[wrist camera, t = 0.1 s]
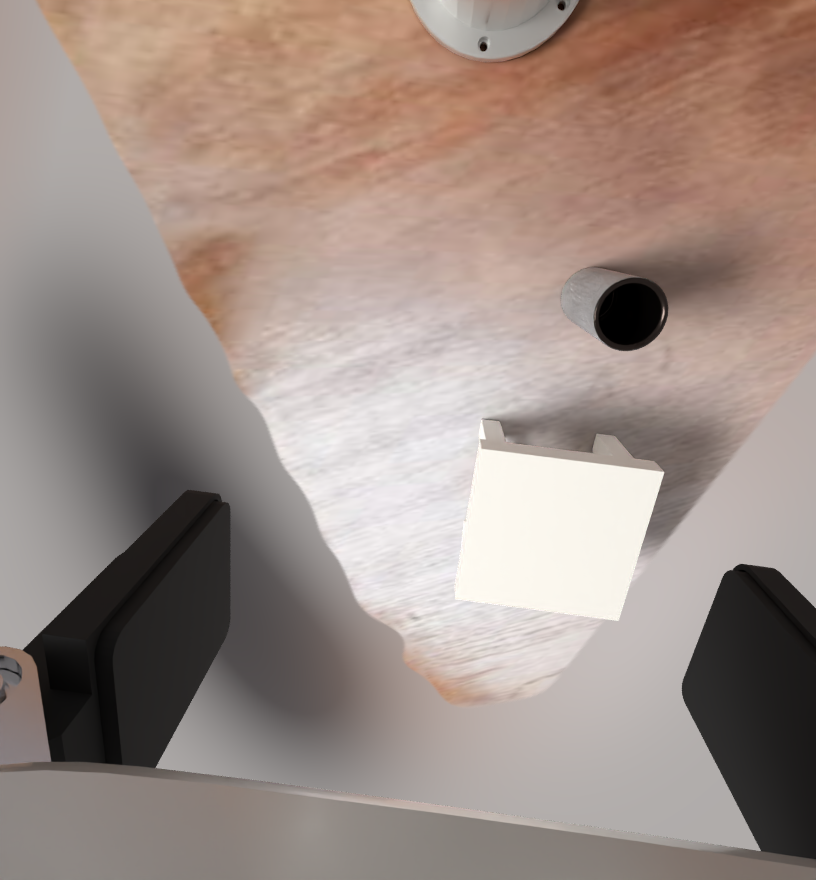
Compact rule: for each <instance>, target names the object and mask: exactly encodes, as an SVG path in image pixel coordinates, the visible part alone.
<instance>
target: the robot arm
mask: <svg viewBox="0 0 816 880" xmlns="http://www.w3.org/2000/svg"><path fill="white" fill-rule="evenodd" d="M410 2H411V4H412V7H413V9H414V12H415V13H416V15H417V17H418V18H419V20H420V21H421V23H422V24H423V26H424V28H425V29H426V30H427V31H428V32H429V33H430V34H431V35H432V37H433V38H434V39H435V40H436V41H437V42H438V43H440V44H441V45H442V46H444V47H445V48H447V49H448V50H449V51H451V52H452V53H454V54H457V55H459V56H462V57H464V58H466V59H469V60H475V61H481V62H503V61H507V60H510V59H514V58H517V57H521V56H523V55H525V54H527V53H529V52H531V51H532V50H534V49H536V48H538V47H539V46H540V45H542V44H543V43H544V42H546V41H547V40H548V39H549V38H551V37H552V36H553V35H554V34H555V33H556V32H557V31H558V29H559V28H560V27H561V26H562V25H563V24H564V23H565V22H566V21H567V19H568V18H569V16H570V14H571V13H572V11H573V10H574V8H575V7H576V5H577V3H578V2H579V0H410ZM558 4H563V5H564V10H563V11H561V10H559V9H558ZM482 44H485V45H486V46H487V50H486V51H481V50H480V46H481V45H482ZM229 624H230V506H229V504H228V503H226V502H222V500H221V497H220V495H219V494H216V493H208V492H201V491H194V490H187V491H186V492H184V493H183V494H182V495H181V496H180V497H179V498H178V499H177V500H176V501H175V502H174V503H173V504H172V505H171V506H170V507H169V508H168V509H167V510H166V511H165V512H164V513H163V514H162V515H161V516H160V517H159V518H158V519H157V520H156V521H155V522H154V523H153V524H152V525H151V526H150V527H149V528H148V529H147V530H146V531H145V532H144V533H143V534H142V535H141V536H140V537H139V538H138V539H137V540H136V541H135V542H134V543H133V544H132V545H131V546H130V547H129V548H128V549H127V550H126V551H125V552H124V553H122V554H121V555H119V556H118V557H117V558H115V559H114V560H113V561H112V562H111V564H109V565H108V566H107V568H105V569H104V570H103V571H102V572H101V573H100V574H99V575H98V576H97V577H96V578H95V579H94V580H93V581H92V582H91V583H90V584H89V585H88V586H87V587H86V588H85V589H84V590H83V591H82V592H81V593H80V594H79V595H78V596H77V597H76V598H75V599H74V600H73V601H72V602H71V603H70V604H69V605H68V606H67V607H66V608H65V609H64V610H63V611H62V612H61V613H60V614H59V615H58V616H57V617H56V618H55V619H54V620H53V621H52V622H51V623H50V624H49V625H48V626H46V628H44V629H43V630H42V631H41V632H40V633H39V634H38V635H37V636H36V637H35V638H34V639H33V640H32V641H31V642H30V643H29V644H28V645H27V646H26V647H25V648H24V649H23V650H20V649H15V648H10V647H6V646H5V647H0V880H816V608H815V607H814V606H813V605H812V604H811V603H810V602H809V601H808V600H807V599H806V598H805V597H804V596H803V595H802V594H801V593H800V592H799V591H798V590H797V589H796V588H795V587H794V586H793V585H792V584H791V583H790V582H789V581H788V580H787V579H786V578H785V577H784V576H783V575H782V574H781V573H780V572H779V571H777V570H776V569H774V568H768V567H760V566H753V565H746V564H740V565H737V566H736V567H735V568H734V569H733V570H730V571H727V572H726V573H725V574H724V576H723V578H722V580H721V583H720V586H719V588H718V591H717V593H716V596H715V598H714V601H713V604H712V606H711V609H710V611H709V614H708V617H707V619H706V622H705V624H704V627H703V630H702V632H701V635H700V637H699V640H698V643H697V645H696V648H695V650H694V653H693V656H692V658H691V661H690V664H689V666H688V669H687V671H686V674H685V676H684V679H683V683H682V695H683V699H684V702H685V704H686V706H687V708H688V710H689V712H690V714H691V716H692V718H693V720H694V721H695V723H696V725H697V727H698V729H699V731H700V733H701V735H702V737H703V739H704V741H705V743H706V745H707V747H708V749H709V751H710V753H711V754H712V756H713V758H714V760H715V762H716V764H717V766H718V768H719V770H720V772H721V774H722V776H723V778H724V780H725V782H726V784H727V786H728V787H729V789H730V791H731V793H732V795H733V797H734V799H735V801H736V803H737V805H738V807H739V809H740V811H741V813H742V815H743V816H744V818H745V820H746V822H747V824H748V826H749V828H750V830H751V832H752V834H753V836H754V838H755V840H756V841H757V844H758V845H759V848H760V849H761V851H755V850H748V849H742V848H735V847H727V846H722V845H714V844H708V843H701V842H694V841H688V840H681V839H674V838H668V837H661V836H654V835H647V834H640V833H633V832H626V831H619V830H612V829H605V828H598V827H591V826H584V825H577V824H570V823H563V822H556V821H549V820H542V819H535V818H528V817H521V816H513V815H507V814H500V813H493V812H485V811H478V810H471V809H464V808H457V807H449V806H443V805H436V804H428V803H421V802H414V801H406V800H399V799H392V798H384V797H377V796H369V795H362V794H355V793H347V792H340V791H333V790H325V789H318V788H310V787H303V786H295V785H288V784H281V783H273V782H266V781H259V780H250V779H242V778H234V777H226V776H217V775H209V774H200V773H192V772H184V771H175V770H166V769H157V768H156V766H157V764H158V762H159V760H160V758H161V756H162V755H163V753H164V751H165V749H166V747H167V745H168V743H169V742H170V739H171V738H172V736H173V734H174V732H175V731H176V729H177V727H178V725H179V723H180V721H181V719H182V718H183V716H184V714H185V712H186V710H187V708H188V706H189V705H190V703H191V701H192V699H193V697H194V695H195V693H196V691H197V690H198V688H199V686H200V684H201V682H202V681H203V679H204V677H205V675H206V673H207V671H208V669H209V668H210V666H211V664H212V662H213V660H214V658H215V657H216V655H217V653H218V651H219V649H220V647H221V645H222V643H223V642H224V640H225V638H226V635H227V632H228V629H229Z"/></svg>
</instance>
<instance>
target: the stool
mask: <svg viewBox="0 0 816 880" xmlns="http://www.w3.org/2000/svg"><path fill="white" fill-rule="evenodd" d="M592 451H593V453H587V452H579V451H571V450H564V449H556V448H548V447H540V446H532V445H524V444H516V443H508V442H506V440H505V437H504V433H503V430H502V427H501V423H500V421H493V420H485V419H481V425H480V431H479V446H478V452H477V458H476V464H475V470H474V476H473V481H472V487H471V493H470V499H469V505H468V511H467V516H466V520H464V525H463V531H462V546H461V551H460V557H459V563H458V569H457V575H456V581H455V599H457V600H465V601H472V602H480V603H487V604H495V605H503V606H510V607H518V608H525V609H533V610H540V611H548V612H556V613H563V614H571V615H578V616H586V617H593V618H601V619H610V620H616V621H618V620H619V617H620V614H621V611H622V608H623V605H624V601H625V598H626V595H627V592H628V589H629V585H630V582H631V579H632V576H633V572H634V569H635V566H636V563H637V559H638V556H639V553H640V550H641V547H642V543H643V540H644V537H645V534H646V530H647V527H648V524H649V521H650V517H651V514H652V511H653V508H654V505H655V501H656V498H657V495H658V492H659V488H660V485H661V482H662V479H663V475H664V471H663V470H662V469H661V468H660V467H659V466H658V464H657V463H656V462H655V461H650V460H642V459H634V458H633V457H632V456H631V454H630V453H629V452H628V451H627V450H626V448H625V447H624V446H623V445H622V444H621V443H620V441H619V440H618V439H617V438H616V437H615V436H612V435H604V434H596V437H595V441H594V445H593V449H592Z"/></svg>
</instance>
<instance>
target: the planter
mask: <svg viewBox="0 0 816 880" xmlns="http://www.w3.org/2000/svg"><path fill="white" fill-rule="evenodd" d="M561 305H562V309H563V311H564V313H565V315H566V316H567V317H568V318H569V319H570V320H571V321H572V322H573V323H575V324H576V325H578V326H579V327H580V328H582V329H583V330H585V331H586V332H588V333H589V334H591V335H592V336H593V337H595V338H596V339H598V340H599V341H601V342H602V343H604V344H605V345H607V346H608V347H610V348H612V349H615V350H619V351H632V350H637V349H640V348H642V347H644V346H646V345H648V344H649V343H651V342H652V341H653V340H654V339H655V338H656V337H657V336H658V335H659V334H660V332H661V331H662V329H663V327H664V325H665V323H666V320H667V316H668V302H667V298H666V296H665V294H664V292H663V290H662V289H661V288H660V287H659V286H658V285H657V284H656V283H655V282H653V281H651V280H649V279H646V278H643V277H638V276H634V275H630V274H625V273H621V272H616V271H612V270H607V269H603V268H596V267H592V268H585V269H582V270H580V271H578V272H576V273H575V274H574V275H572V276H571V277H570V278H569V279H568V281H567V282H566V284H565V285H564V288H563V290H562V294H561Z"/></svg>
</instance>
